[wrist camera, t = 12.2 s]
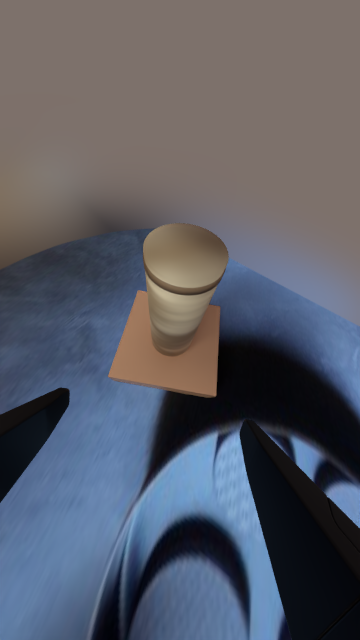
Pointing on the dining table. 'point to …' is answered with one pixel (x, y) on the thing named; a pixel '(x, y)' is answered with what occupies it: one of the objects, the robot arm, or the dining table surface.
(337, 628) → the robot arm
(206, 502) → the dining table surface
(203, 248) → the birch column
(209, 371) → the terracotta plinth
